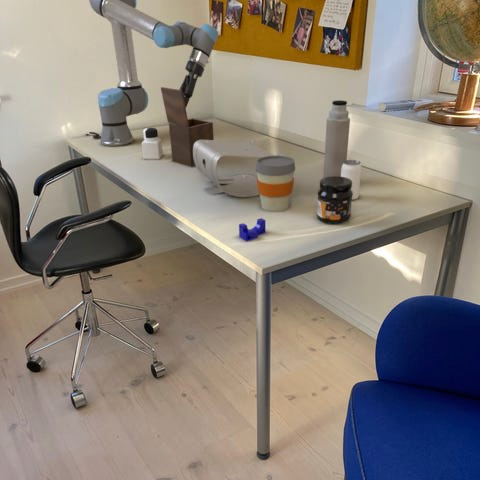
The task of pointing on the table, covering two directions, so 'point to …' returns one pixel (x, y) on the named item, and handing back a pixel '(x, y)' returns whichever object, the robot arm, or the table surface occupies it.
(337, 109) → the thermos bottle
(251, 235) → the cable holder
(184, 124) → the lid
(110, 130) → the robot arm
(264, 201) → the reusable coffee cup
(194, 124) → the chest
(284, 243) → the table surface
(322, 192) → the supplement container
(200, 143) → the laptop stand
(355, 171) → the can
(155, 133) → the medicine bottle
